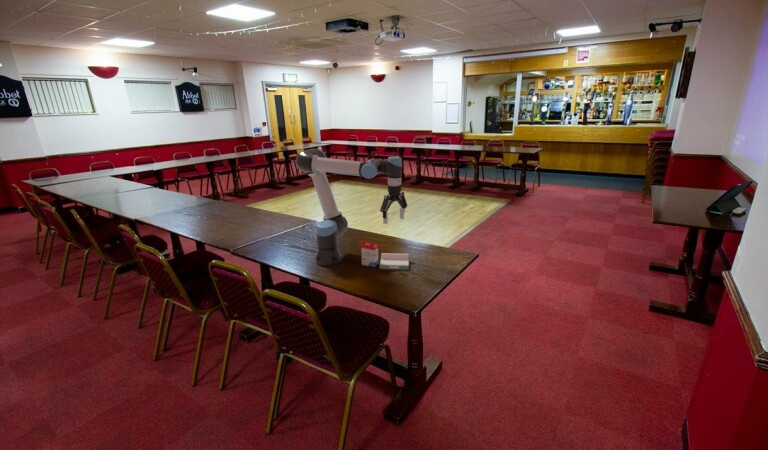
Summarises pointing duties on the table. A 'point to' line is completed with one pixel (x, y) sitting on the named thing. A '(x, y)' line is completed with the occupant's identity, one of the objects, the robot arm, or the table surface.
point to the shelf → (394, 261)
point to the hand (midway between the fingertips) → (393, 221)
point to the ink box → (369, 253)
